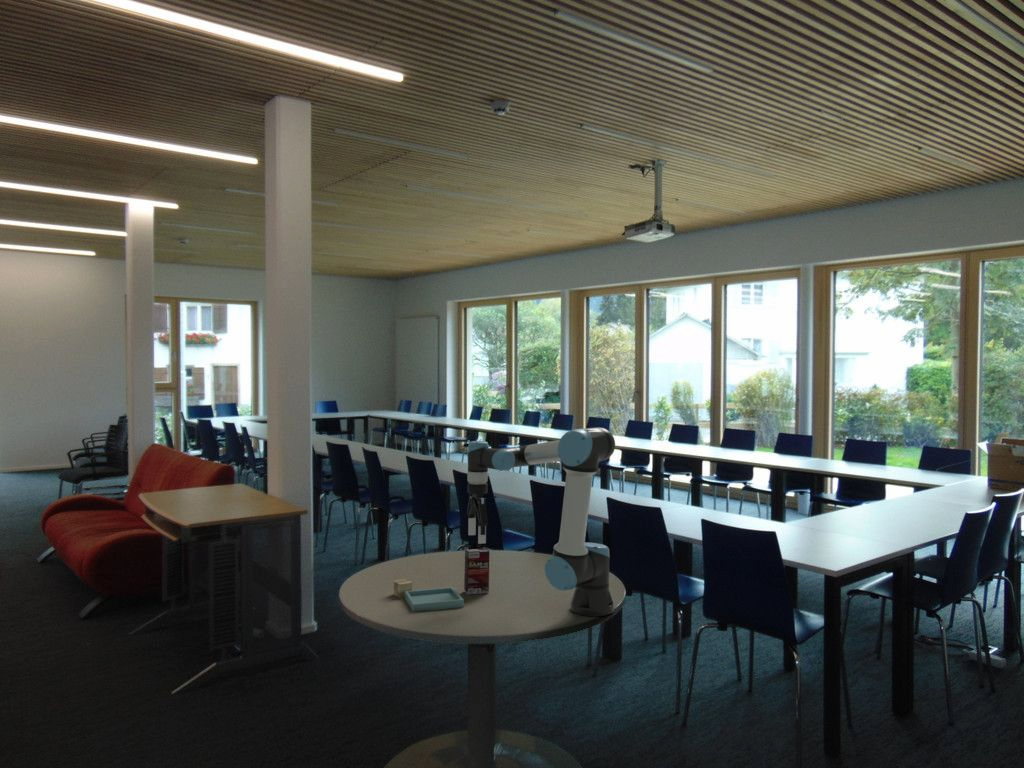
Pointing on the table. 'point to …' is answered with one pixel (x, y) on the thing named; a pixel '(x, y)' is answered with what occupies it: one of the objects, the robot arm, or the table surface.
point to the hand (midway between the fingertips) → (476, 539)
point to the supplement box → (476, 571)
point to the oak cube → (402, 587)
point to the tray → (433, 599)
